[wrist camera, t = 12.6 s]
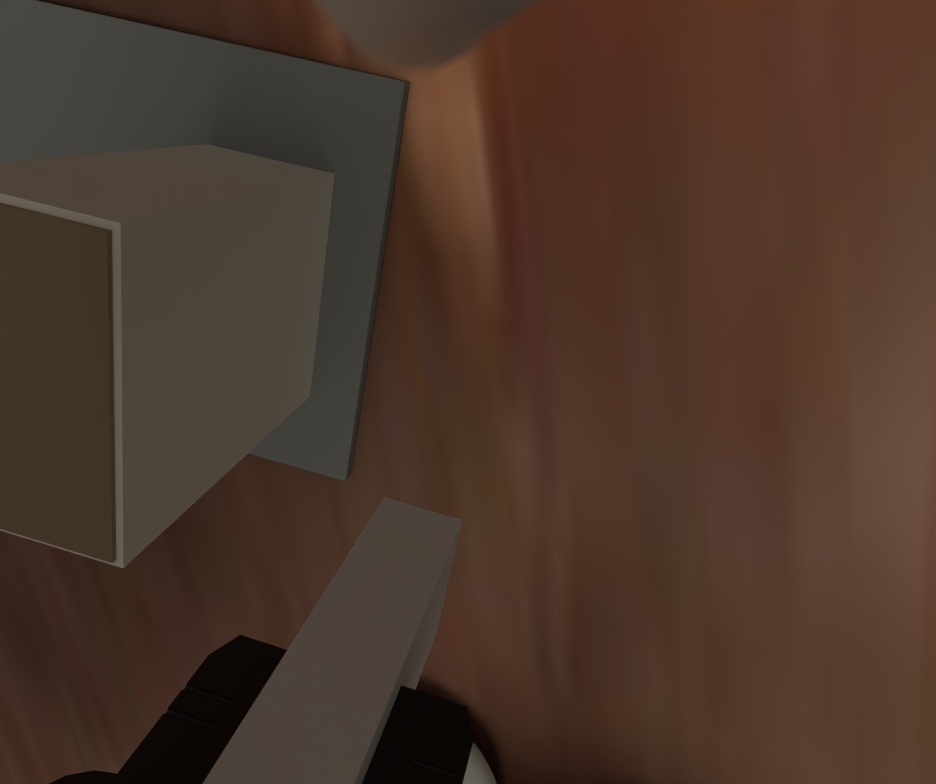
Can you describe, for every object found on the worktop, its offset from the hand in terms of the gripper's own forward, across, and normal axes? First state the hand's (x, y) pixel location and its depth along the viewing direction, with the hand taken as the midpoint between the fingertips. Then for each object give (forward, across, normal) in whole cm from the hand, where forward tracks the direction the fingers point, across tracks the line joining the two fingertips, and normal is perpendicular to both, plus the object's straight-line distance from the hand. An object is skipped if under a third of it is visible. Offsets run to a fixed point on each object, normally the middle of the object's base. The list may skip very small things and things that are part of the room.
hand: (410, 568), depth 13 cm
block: (+15, -10, 0) cm, 18 cm away
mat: (+15, -16, 0) cm, 22 cm away
